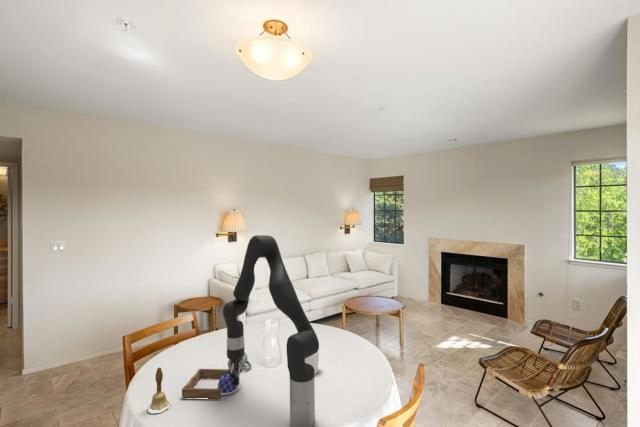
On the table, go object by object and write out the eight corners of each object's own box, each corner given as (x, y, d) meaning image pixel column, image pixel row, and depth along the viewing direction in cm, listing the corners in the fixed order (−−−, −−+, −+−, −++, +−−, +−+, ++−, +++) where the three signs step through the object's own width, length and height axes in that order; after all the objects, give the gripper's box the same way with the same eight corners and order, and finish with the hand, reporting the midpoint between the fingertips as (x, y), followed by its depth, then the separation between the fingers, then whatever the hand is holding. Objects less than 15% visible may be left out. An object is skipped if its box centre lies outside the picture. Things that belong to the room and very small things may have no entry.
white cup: (317, 376, 153) (316, 355, 153) (300, 375, 155) (300, 354, 155) (320, 368, 161) (320, 348, 161) (304, 367, 163) (304, 347, 162)
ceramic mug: (226, 372, 158) (226, 356, 158) (233, 364, 166) (233, 349, 166) (247, 373, 157) (247, 358, 157) (253, 365, 165) (253, 350, 165)
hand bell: (164, 399, 136) (163, 361, 136) (174, 407, 131) (173, 367, 131) (143, 409, 130) (142, 369, 129) (153, 417, 124) (152, 376, 124)
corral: (220, 399, 135) (220, 390, 135) (182, 399, 136) (181, 389, 136) (233, 377, 153) (233, 369, 153) (199, 377, 154) (199, 368, 154)
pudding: (215, 382, 149) (214, 371, 149) (242, 380, 151) (241, 369, 151) (210, 397, 137) (210, 385, 137) (239, 395, 139) (239, 382, 139)
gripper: (239, 352, 137) (240, 393, 137) (248, 339, 150) (248, 377, 150) (221, 352, 137) (222, 393, 138) (232, 339, 150) (232, 376, 151)
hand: (236, 384), depth 144 cm, fingers closed
